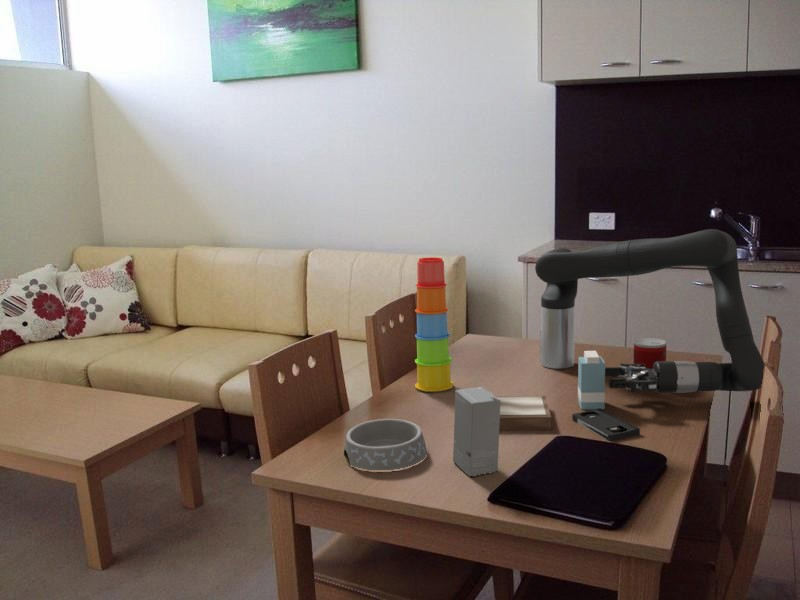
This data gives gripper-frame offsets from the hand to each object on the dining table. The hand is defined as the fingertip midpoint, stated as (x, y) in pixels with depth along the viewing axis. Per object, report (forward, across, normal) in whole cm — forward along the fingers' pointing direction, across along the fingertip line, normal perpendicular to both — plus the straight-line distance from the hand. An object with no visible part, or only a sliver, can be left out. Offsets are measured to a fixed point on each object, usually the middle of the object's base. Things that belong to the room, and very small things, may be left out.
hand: (606, 377), depth 184 cm
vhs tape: (+3, +14, +8) cm, 16 cm away
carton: (+4, 0, +7) cm, 8 cm away
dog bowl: (+51, +28, +8) cm, 59 cm away
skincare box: (+31, +35, +7) cm, 48 cm away
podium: (+22, +8, +7) cm, 24 cm away
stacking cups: (+42, -15, +7) cm, 46 cm away
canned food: (-14, -17, +7) cm, 23 cm away
